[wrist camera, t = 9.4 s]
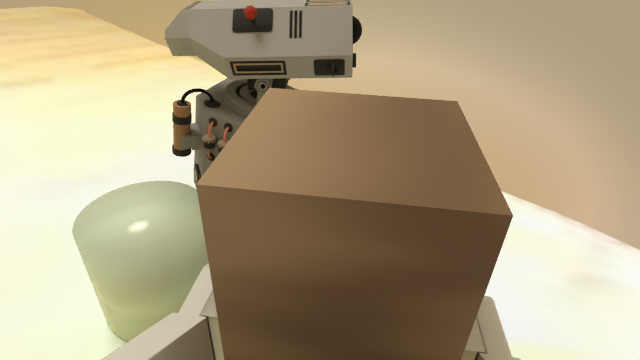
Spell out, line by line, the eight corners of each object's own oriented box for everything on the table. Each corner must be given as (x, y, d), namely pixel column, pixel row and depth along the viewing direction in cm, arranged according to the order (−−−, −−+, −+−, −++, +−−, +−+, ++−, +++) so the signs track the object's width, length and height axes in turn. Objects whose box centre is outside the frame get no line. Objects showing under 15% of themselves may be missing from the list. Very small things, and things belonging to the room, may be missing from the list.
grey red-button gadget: (340, 285, 23) (363, 19, 16) (175, 242, 26) (123, -2, 18) (370, 203, 31) (396, -5, 23) (239, 176, 34) (221, -18, 26)
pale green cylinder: (81, 336, 20) (41, 247, 17) (141, 255, 25) (119, 176, 22) (194, 352, 19) (174, 263, 16) (232, 266, 24) (223, 186, 21)
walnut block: (252, 531, 11) (196, 184, 5) (281, 396, 15) (269, 87, 8) (390, 556, 11) (512, 216, 5) (387, 412, 14) (457, 101, 8)
